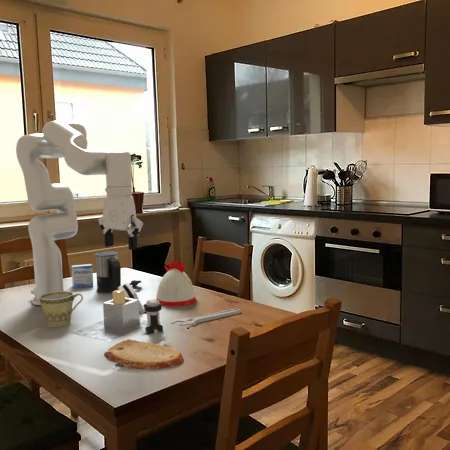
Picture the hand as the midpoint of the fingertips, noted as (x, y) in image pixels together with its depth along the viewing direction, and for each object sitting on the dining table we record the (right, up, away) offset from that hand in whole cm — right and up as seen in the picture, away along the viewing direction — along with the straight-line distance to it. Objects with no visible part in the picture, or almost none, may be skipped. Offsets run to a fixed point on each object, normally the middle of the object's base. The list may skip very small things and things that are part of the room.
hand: (121, 247), depth 160 cm
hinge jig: (-1, -25, -4) cm, 25 cm away
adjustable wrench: (+27, -24, +4) cm, 36 cm away
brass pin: (0, -23, -1) cm, 23 cm away
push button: (+11, -25, -9) cm, 29 cm away
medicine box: (-26, -18, +51) cm, 60 cm away
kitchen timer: (+14, -21, +27) cm, 37 cm away
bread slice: (+11, -28, -26) cm, 40 cm away
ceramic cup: (-18, -25, +1) cm, 30 cm away
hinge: (0, -22, +17) cm, 28 cm away
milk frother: (-10, -19, +45) cm, 49 cm away
